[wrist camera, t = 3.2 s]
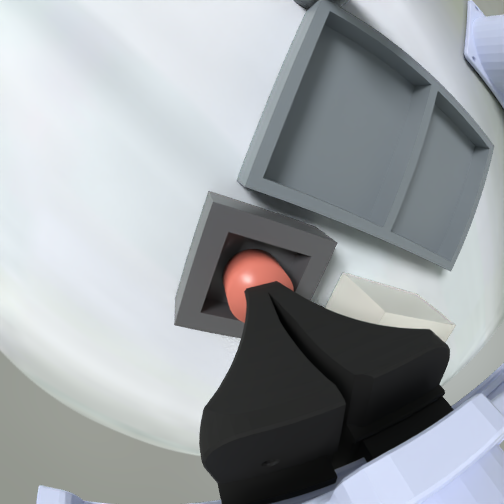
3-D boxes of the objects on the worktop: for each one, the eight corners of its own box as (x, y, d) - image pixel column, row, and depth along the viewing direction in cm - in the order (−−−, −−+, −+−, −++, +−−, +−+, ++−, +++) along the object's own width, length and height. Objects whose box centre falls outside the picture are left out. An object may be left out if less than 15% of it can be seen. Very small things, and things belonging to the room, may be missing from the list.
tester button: (288, 257, 14) (304, 275, 12) (267, 306, 14) (278, 329, 13) (233, 241, 13) (242, 259, 11) (214, 294, 14) (219, 318, 12)
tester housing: (315, 227, 15) (337, 242, 13) (274, 319, 17) (287, 345, 15) (208, 191, 13) (212, 201, 11) (175, 297, 15) (174, 325, 13)
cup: (417, 294, 19) (455, 325, 15) (368, 373, 21) (394, 409, 17) (342, 272, 17) (385, 312, 13) (290, 370, 19) (312, 418, 15)
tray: (475, 142, 16) (494, 145, 14) (433, 260, 18) (450, 271, 17) (306, 11, 10) (322, -3, 9) (236, 180, 13) (244, 186, 12)
